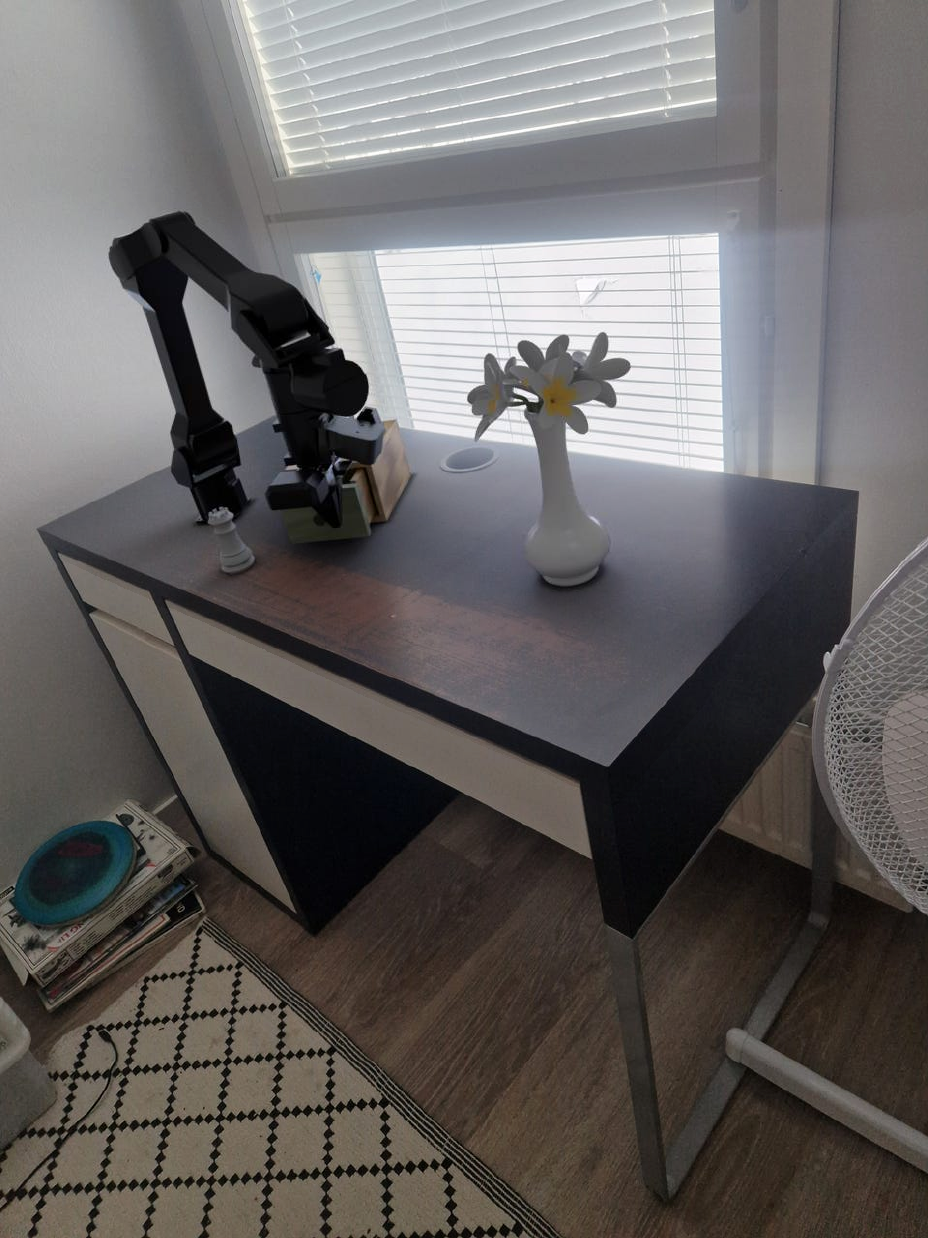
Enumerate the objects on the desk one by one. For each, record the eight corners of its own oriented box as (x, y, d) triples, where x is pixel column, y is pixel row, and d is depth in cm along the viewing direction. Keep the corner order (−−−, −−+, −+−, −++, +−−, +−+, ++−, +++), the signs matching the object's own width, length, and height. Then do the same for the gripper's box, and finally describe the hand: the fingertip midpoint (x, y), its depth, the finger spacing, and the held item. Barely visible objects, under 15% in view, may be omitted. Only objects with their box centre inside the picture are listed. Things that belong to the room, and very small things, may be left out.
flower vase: (659, 535, 96) (640, 310, 83) (585, 624, 85) (549, 379, 71) (558, 523, 104) (526, 314, 90) (477, 603, 92) (426, 378, 78)
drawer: (366, 541, 108) (351, 491, 104) (288, 548, 111) (271, 499, 107) (394, 491, 119) (382, 444, 115) (322, 498, 122) (308, 453, 118)
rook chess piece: (227, 579, 109) (204, 523, 104) (219, 566, 112) (197, 512, 108) (259, 565, 110) (239, 510, 106) (251, 553, 114) (230, 499, 109)
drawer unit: (386, 521, 114) (369, 460, 109) (303, 529, 117) (284, 470, 112) (411, 475, 125) (397, 418, 120) (335, 484, 128) (318, 429, 123)
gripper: (341, 429, 86) (378, 561, 95) (388, 368, 101) (417, 486, 110) (242, 441, 89) (288, 568, 98) (302, 379, 104) (337, 494, 113)
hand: (337, 526), depth 104 cm, fingers closed
